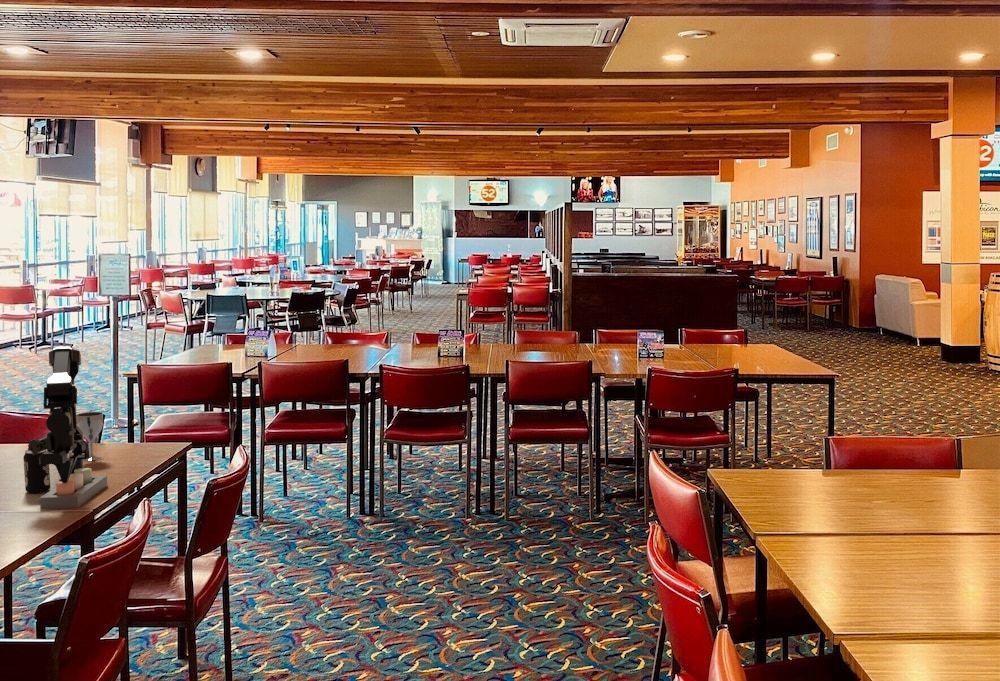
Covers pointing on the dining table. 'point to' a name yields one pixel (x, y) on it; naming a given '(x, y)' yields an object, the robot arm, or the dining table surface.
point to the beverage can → (36, 473)
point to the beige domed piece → (77, 480)
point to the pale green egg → (85, 473)
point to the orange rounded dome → (65, 488)
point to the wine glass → (90, 429)
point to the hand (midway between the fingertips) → (64, 482)
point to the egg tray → (73, 495)
